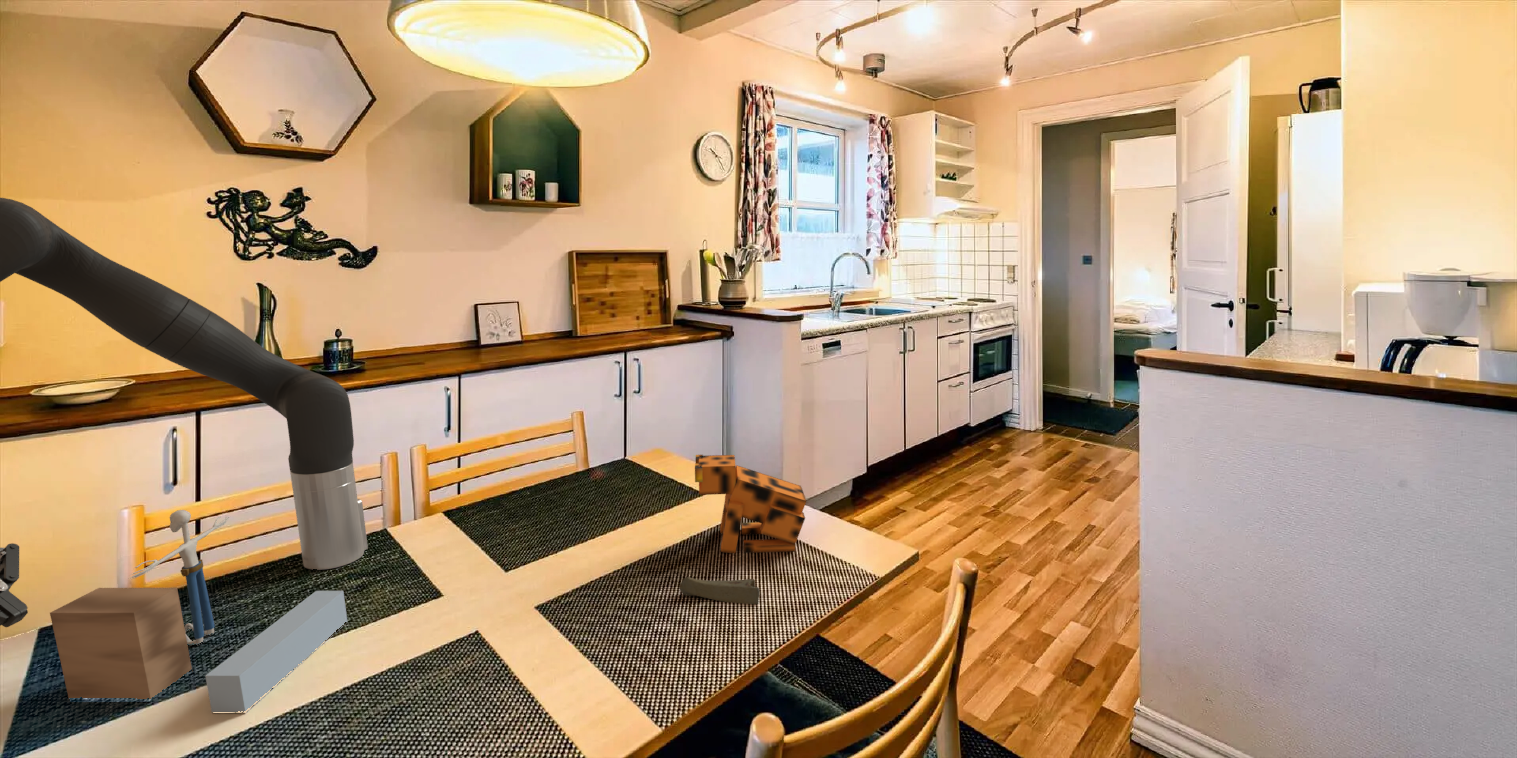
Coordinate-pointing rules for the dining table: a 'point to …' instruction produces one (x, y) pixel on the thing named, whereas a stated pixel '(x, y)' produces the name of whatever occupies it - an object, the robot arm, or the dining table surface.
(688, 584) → the grey long curved piece
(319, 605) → the blue-gray rectangular bar
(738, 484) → the toy animal
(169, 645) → the walnut block
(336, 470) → the robot arm
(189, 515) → the alien figure
